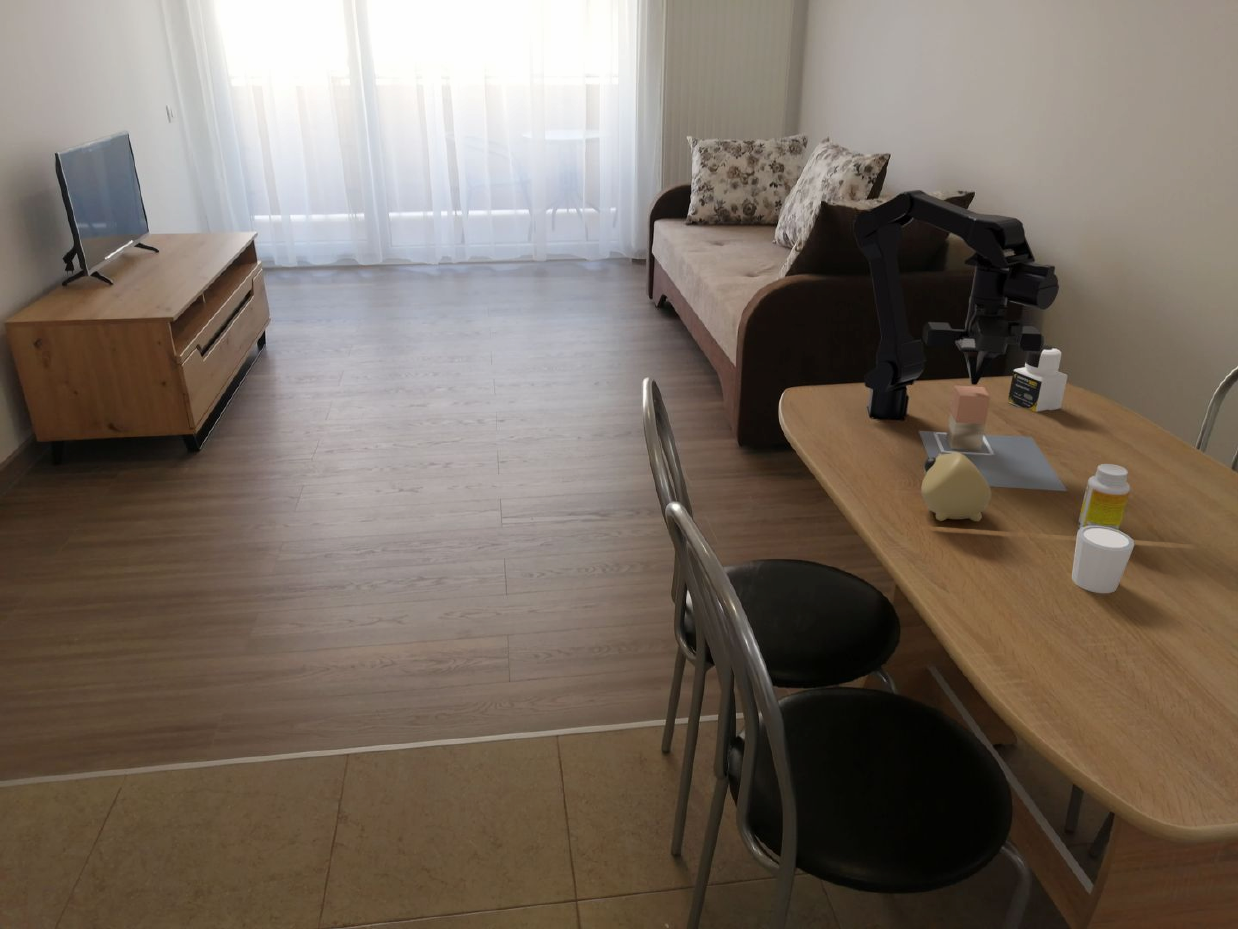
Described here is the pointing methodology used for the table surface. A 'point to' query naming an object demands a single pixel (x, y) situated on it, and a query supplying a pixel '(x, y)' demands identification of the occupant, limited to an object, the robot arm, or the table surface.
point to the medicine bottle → (1039, 381)
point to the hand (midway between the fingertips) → (973, 384)
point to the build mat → (1002, 460)
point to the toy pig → (954, 487)
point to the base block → (964, 435)
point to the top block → (969, 404)
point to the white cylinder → (1100, 558)
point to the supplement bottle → (1105, 497)
